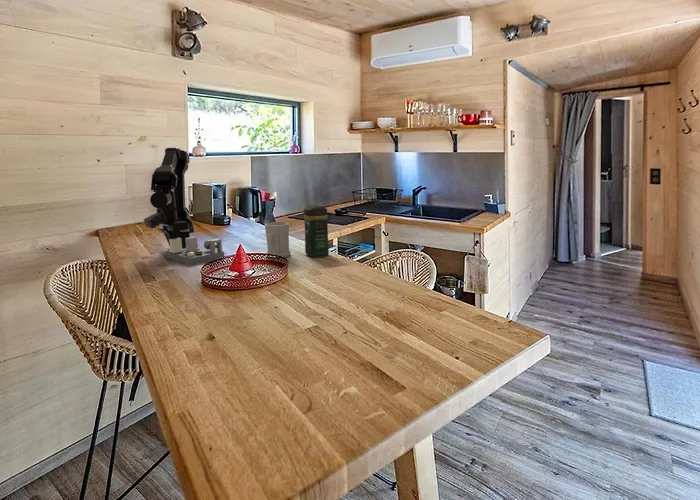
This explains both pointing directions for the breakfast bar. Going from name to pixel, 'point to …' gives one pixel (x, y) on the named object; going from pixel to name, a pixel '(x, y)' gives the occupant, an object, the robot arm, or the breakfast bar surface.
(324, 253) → the coffee jar
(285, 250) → the cup
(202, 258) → the console
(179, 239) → the cream flanged block
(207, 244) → the plunger
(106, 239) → the breakfast bar surface
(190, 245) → the white stepped block
